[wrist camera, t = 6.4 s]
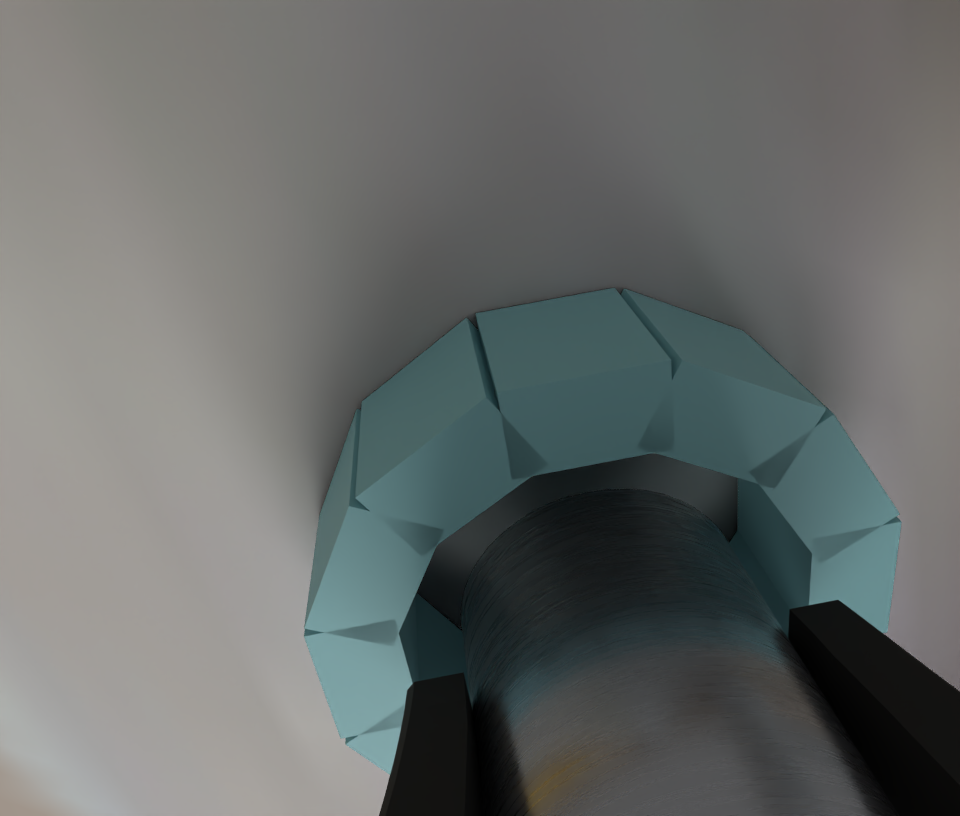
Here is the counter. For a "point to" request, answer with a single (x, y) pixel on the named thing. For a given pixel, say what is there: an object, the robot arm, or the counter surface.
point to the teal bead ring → (565, 445)
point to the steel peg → (643, 675)
